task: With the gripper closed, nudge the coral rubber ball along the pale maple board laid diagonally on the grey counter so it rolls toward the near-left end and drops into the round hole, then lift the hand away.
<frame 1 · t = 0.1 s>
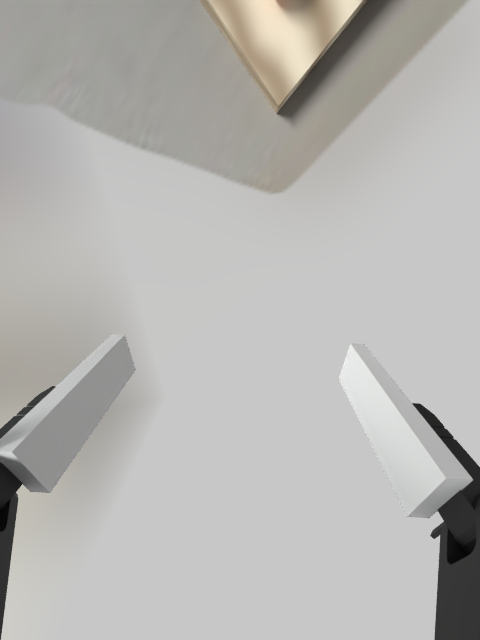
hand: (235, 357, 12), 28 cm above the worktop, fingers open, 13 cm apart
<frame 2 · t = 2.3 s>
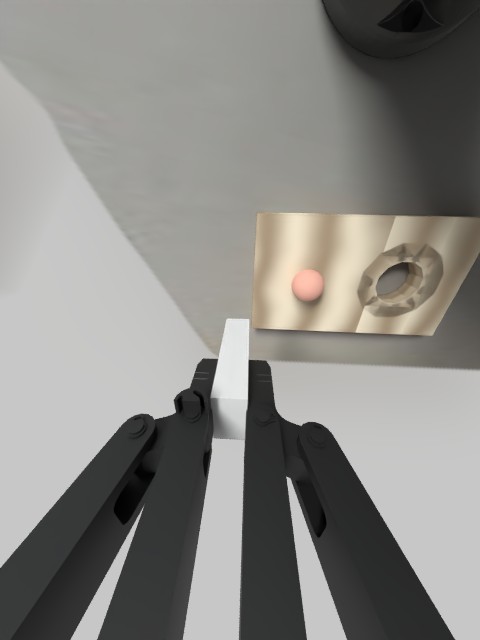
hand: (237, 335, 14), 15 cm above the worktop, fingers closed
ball: (307, 285, 23), point 4 cm above the worktop, touching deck
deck: (347, 275, 27), on the worktop
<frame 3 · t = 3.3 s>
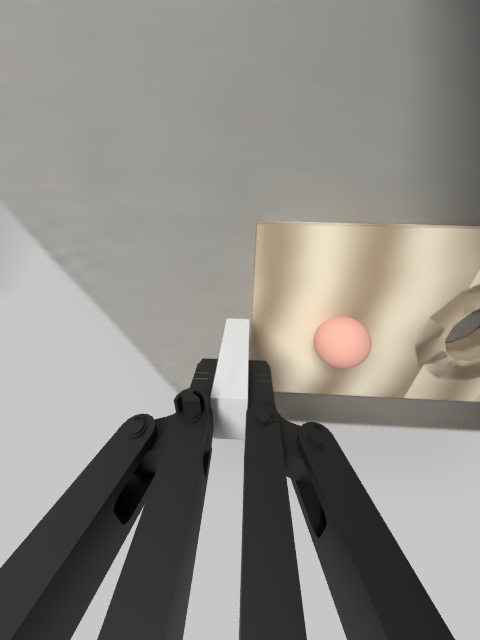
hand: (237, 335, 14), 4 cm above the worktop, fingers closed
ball: (340, 342, 14), point 4 cm above the worktop, touching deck
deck: (394, 315, 17), on the worktop
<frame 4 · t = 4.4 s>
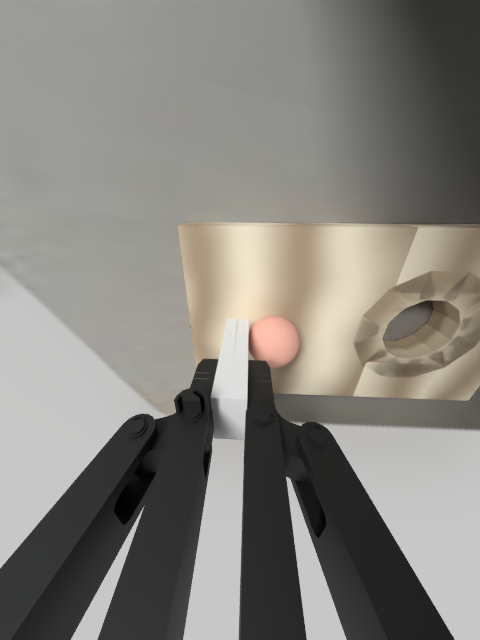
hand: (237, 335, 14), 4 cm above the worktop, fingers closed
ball: (273, 341, 14), point 4 cm above the worktop, touching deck, gripper
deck: (338, 314, 18), on the worktop
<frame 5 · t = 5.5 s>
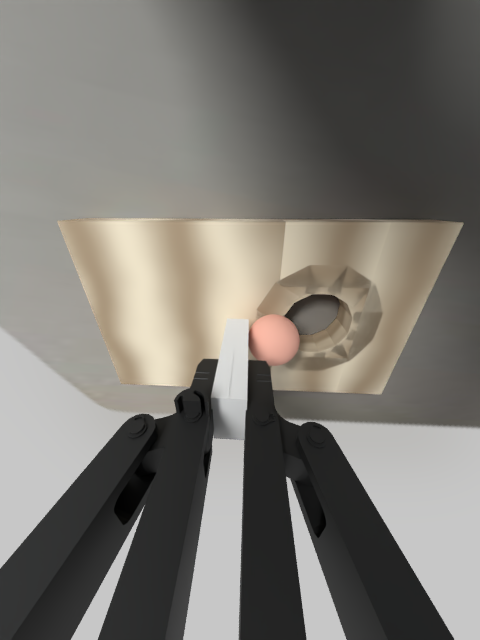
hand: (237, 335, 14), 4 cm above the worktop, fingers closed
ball: (273, 339, 14), point 4 cm above the worktop, tilted 141°, touching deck, gripper
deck: (249, 309, 18), on the worktop
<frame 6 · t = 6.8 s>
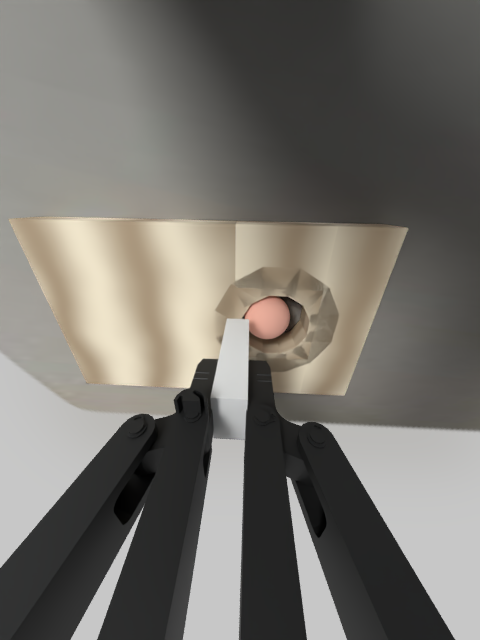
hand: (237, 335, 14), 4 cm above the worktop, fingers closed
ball: (266, 316, 16), point 2 cm above the worktop, tilted 40°
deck: (213, 309, 18), on the worktop
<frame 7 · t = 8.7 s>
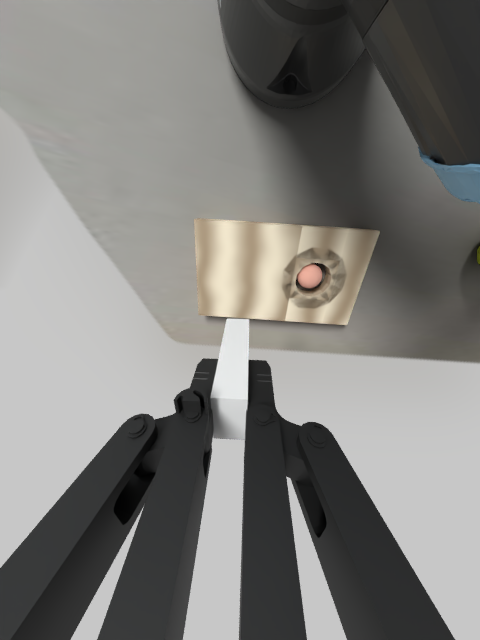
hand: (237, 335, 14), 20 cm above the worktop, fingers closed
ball: (309, 276, 31), point 2 cm above the worktop, tilted 35°
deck: (276, 273, 32), on the worktop
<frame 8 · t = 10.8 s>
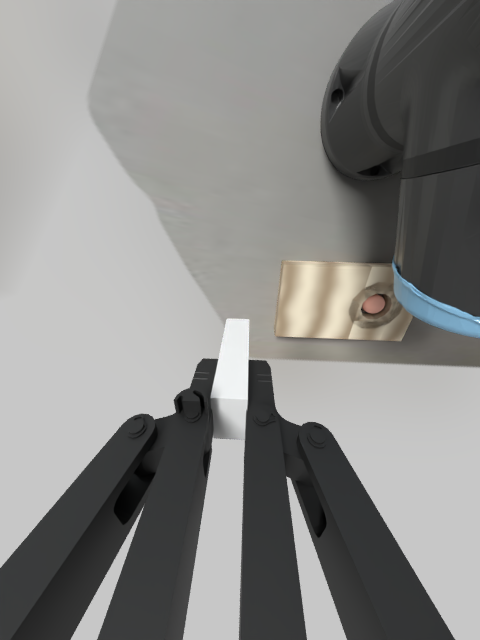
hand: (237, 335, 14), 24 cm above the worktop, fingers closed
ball: (372, 303, 37), point 2 cm above the worktop, tilted 29°
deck: (341, 300, 39), on the worktop
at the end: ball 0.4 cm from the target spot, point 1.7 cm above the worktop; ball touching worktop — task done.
